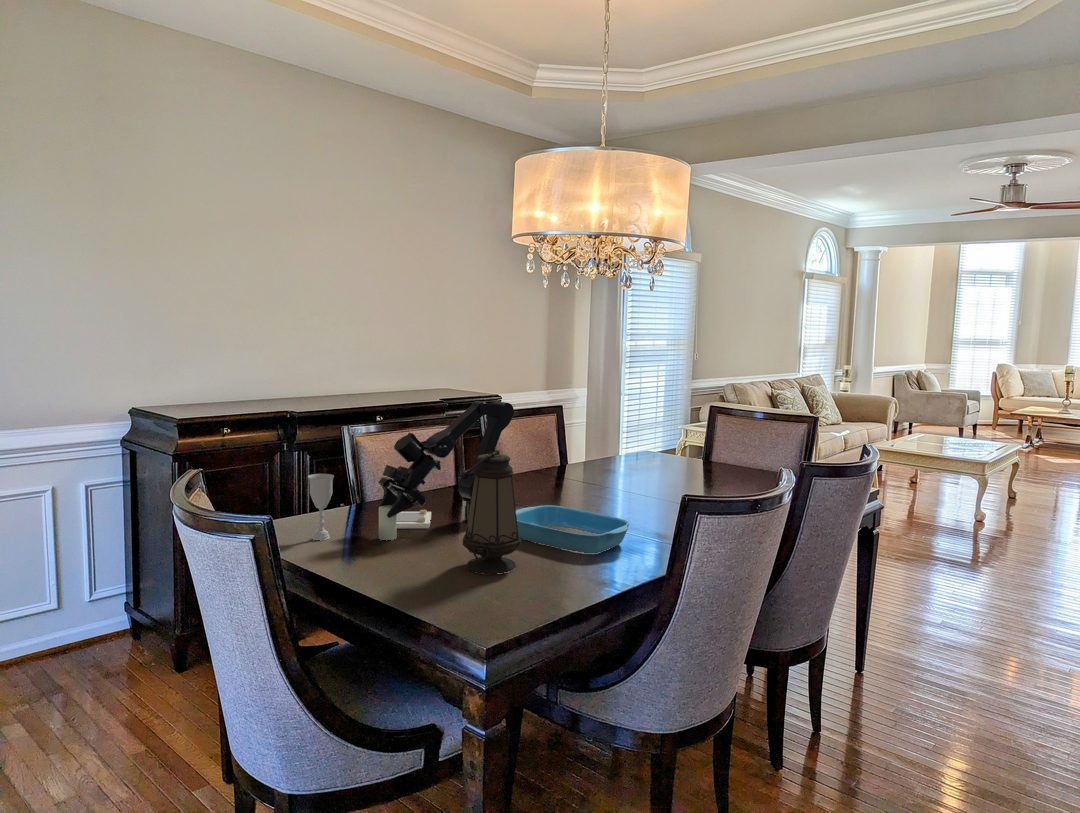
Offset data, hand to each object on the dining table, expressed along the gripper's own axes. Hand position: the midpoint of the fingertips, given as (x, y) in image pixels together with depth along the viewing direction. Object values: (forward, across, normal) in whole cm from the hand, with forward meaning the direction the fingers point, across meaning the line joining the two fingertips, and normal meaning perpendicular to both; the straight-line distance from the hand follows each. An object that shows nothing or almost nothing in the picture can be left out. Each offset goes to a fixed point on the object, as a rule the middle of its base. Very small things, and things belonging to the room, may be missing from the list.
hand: (383, 514), depth 206 cm
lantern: (-3, +37, +13) cm, 39 cm away
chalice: (+15, -10, -5) cm, 19 cm away
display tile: (-5, -12, +16) cm, 20 cm away
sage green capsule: (+4, 0, +6) cm, 7 cm away
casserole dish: (-25, +32, +36) cm, 54 cm away
